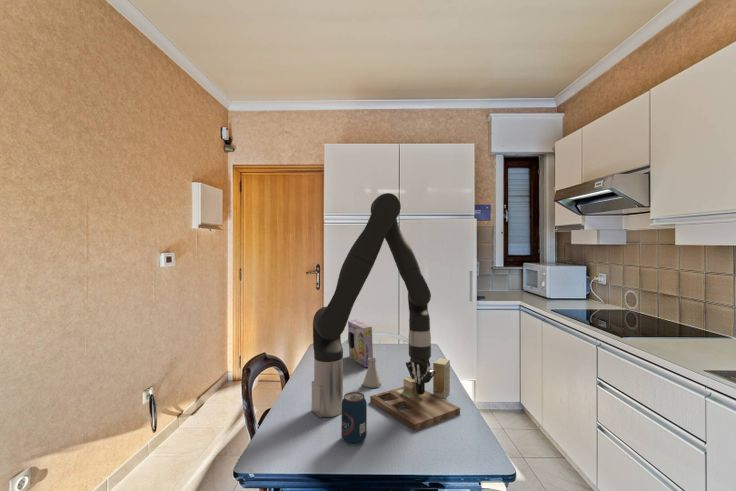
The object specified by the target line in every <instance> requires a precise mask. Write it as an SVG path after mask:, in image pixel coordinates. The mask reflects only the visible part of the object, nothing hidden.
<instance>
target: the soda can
mask: <svg viewBox="0 0 736 491" xmlns="http://www.w3.org/2000/svg"><path fill="white" fill-rule="evenodd" d="M365 397H366V396H365V395H364V394H363V393H362V392H359V391H353V392H347V393H346V394H343V401H342V413H341V424H340V425H341V427H340V428H341V432H340V433H341V434H340V436H341V439H342V440H343V442H344V443H345V444H347V445H349V446H358V445H361V444H363V443H364V441H365V440H366V438H367V433H368V432H367V424H368V421H367V419H368V418H367V414H368V413H367V407H368V405H367V404H368V402H367V399H366V398H365Z"/></svg>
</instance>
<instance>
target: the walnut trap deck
mask: <svg viewBox="0 0 736 491" xmlns="http://www.w3.org/2000/svg"><path fill="white" fill-rule="evenodd" d="M369 398H370V399H369V402H370V403H371V404H373V405H374V406H376V407H378V408H379V409H381V410H382V411H383V412H385V413H387V414H388V415H390V416H391V417H392V418H394V419H396V420H397V421H399V422H400V423H402V424H403V425H405V426H407V428H410V429H411V430H412V431H415V432H417V431H419V430H422V429H424V428H427V427H429V426H433V425H435V424H437V423H441V422H443V421H445V420H448V419H450V418H454V417H456V416H458V415H461V407H459V406H457V404H456V405H455V404H454V403H452V402H449V400H446V399H443V398H440V397H438V396H436V395H433V393H431V392H429V391H428V390H425V392H424V394H421V395H419V394H415V395H410V394H408V393H406V392H405V391H404V386H400V387H397V388H394V389H390V390H388V391H383V392H380V393H377V394H373V395H370V396H369ZM388 399H389V401H385V400H388ZM402 408H405V410H403V411H401V410H400V409H402Z"/></svg>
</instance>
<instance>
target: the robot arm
mask: <svg viewBox="0 0 736 491" xmlns="http://www.w3.org/2000/svg"><path fill="white" fill-rule="evenodd" d="M370 205H371V206H370V216H369V218H368V220H367V223H366V225H365V227H364V229H363V230H362V231H361V233H360V234H359V236H358V237H357V239H356V240H355V241H354V243H353V244H352V246H351V248H350V249H349V251H348V253H347V255H346V257H345V259H344V261H343V263H342V265H341V268H340V271H339V274H338V278H337V283H336V286H335V287H336V288H335V291H334V293H333V295H332V297H331V299H330V300H329V302H328V304H327V306H323V307H321V308H319V309H318V310H316V312H315V314H314V316H313V319H312V346H313V358H314V360H313V361H314V362H313V363H314V365H313V368H314V369H313V371H314V375H313V376H314V377H313V381H311V412H313V413H314V414H315V415H316V416H317V417H318V418H320V419H321V418H332V417H337V416H338V415H341V414H342V401H343V399H344V384H343V383H344V381H343V380H344V376H343V375H344V352H343V351H344V350H343V344H342V340H341V339H342V338H341V337H342V336H341V335H342V334H343V332H344V331H345V328H346V326H347V325H348V321H349V318H350V315H351V312H352V309H353V307H354V305H355V303H356V300H357V298H358V296H359V294H360V293H361V291H362V289H363V287H364V285H365V283H366V281H367V279H368V278H369V275H370V274H371V271H372V270H373V268H374V265H375V262H376V261H377V258H378V255H379V253H380V251H381V248H382V246H383V243H384V241H386V244H387V245H388V248H389V250H390V252H391V255H392V257H393V260H394V263H395V265H396V267H397V270H398V273H399V275H400V278H402V280H403V282H404V284H405V287H406V290H407V302H408V313H409V314H408V316H409V317H408V318H409V319H408V323H409V324H408V328H409V329H408V356H409V361H407V362H405V365H406V368H407V371H408V373H409V374H410V376H409V377H411V378H412V379H414V380H415V382H416V392H417V394H419V395H421V394H424V392H425V391H426V390H425V389H426V388H425V384H427V383H429V382H430V381H431V380H433V376H434V374H435V370H433V368H431V362H430V358H431V357H432V336H431V319H430V318H431V317H430V314H429V309H428V305H429V302H430V301H431V299H432V294H431V290H430V287H429V286H428V284H427V281H426V279H425V277H424V275H423V274H422V271H421V269H420V266H419V262H418V261H417V258H416V256H415V253H414V251H413V249H412V248H411V246H410V245H409V244H410V243H408V241H407V240H406V238H405V236H404V234H403V233H402V231H401V229H400V225H399V223H398V219H397V218H398V217H399V215H400V213H401V209H402V207H401V206H402V205H401V201H400V199H399V197H398V196H397V195H396V194H394V193H391V192H386V193H382V194H380V195H378V196H377V198H375V199H374V200H373V201H372V203H371V204H370Z"/></svg>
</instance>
